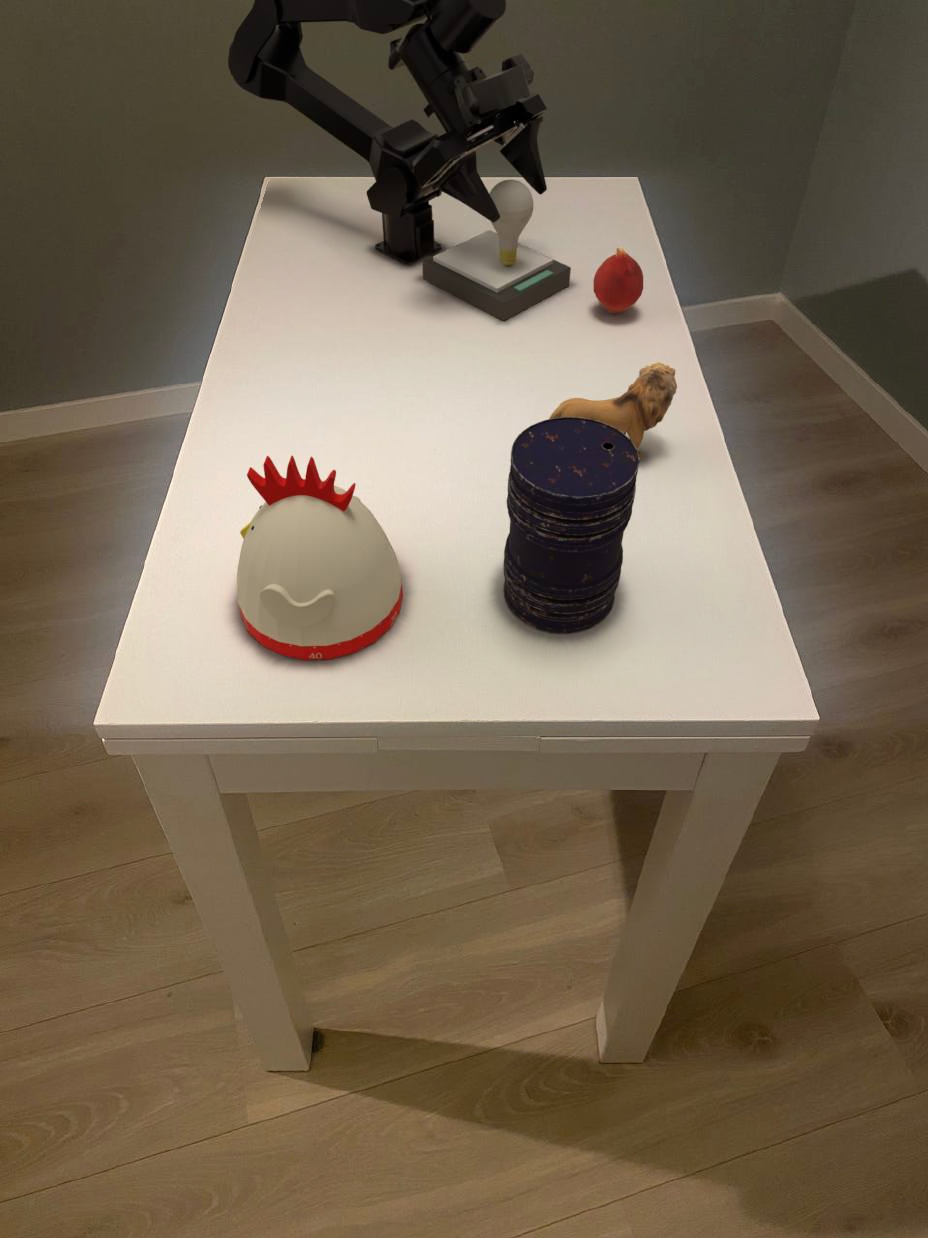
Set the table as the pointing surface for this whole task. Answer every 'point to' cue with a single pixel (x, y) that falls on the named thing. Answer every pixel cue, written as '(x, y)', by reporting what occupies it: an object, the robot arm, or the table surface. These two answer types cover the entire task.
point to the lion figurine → (629, 404)
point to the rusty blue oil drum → (567, 522)
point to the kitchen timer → (315, 567)
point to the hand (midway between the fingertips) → (521, 205)
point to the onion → (618, 282)
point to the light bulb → (511, 216)
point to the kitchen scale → (495, 275)
